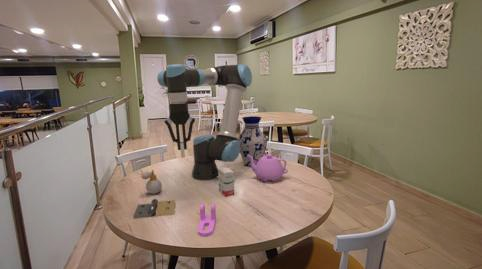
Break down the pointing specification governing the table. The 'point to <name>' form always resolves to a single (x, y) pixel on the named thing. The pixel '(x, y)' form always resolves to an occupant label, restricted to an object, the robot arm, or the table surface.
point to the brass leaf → (165, 208)
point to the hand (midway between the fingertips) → (183, 156)
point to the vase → (252, 140)
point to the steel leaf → (146, 209)
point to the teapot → (268, 168)
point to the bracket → (207, 221)
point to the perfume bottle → (152, 182)
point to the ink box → (226, 181)
